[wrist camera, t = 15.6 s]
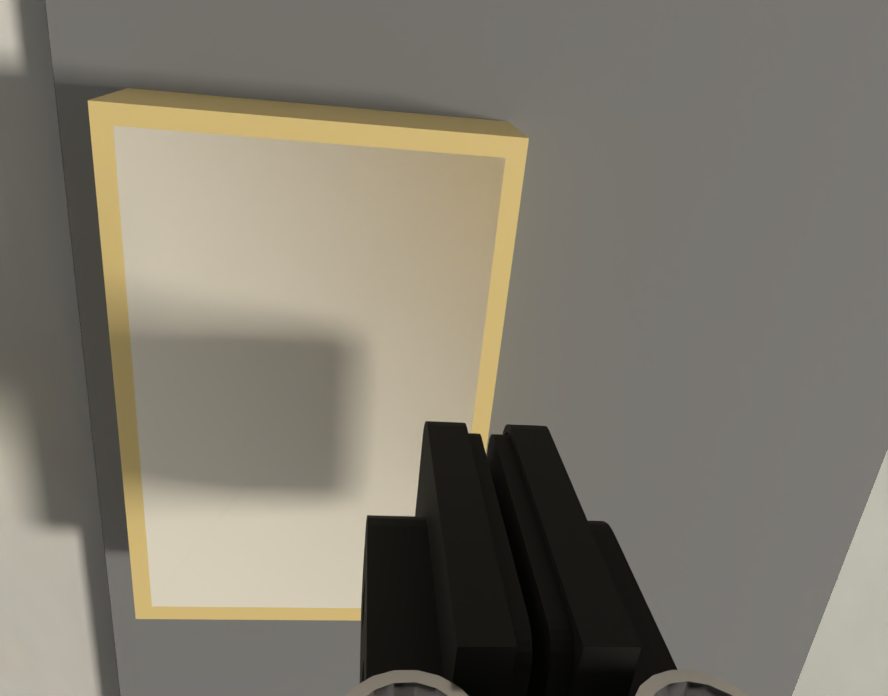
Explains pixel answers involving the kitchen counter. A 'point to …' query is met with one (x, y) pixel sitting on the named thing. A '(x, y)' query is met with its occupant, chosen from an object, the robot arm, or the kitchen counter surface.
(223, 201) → the card deck
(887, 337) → the mat
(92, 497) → the kitchen counter surface
